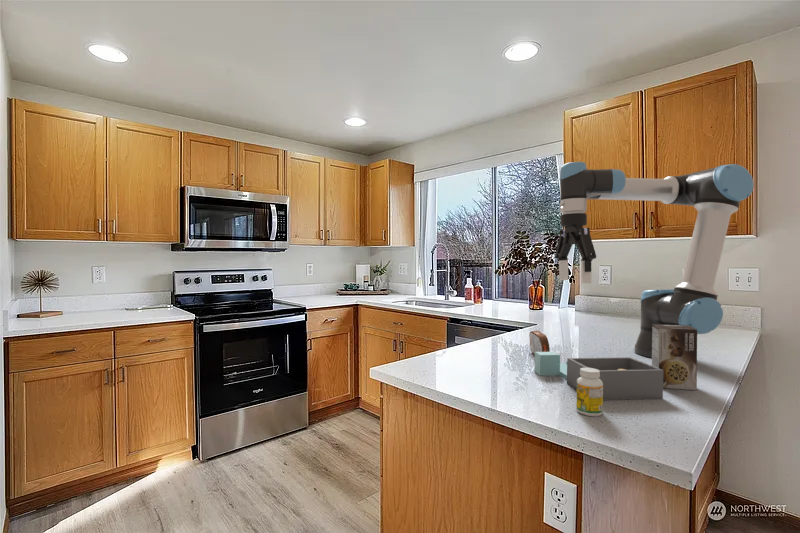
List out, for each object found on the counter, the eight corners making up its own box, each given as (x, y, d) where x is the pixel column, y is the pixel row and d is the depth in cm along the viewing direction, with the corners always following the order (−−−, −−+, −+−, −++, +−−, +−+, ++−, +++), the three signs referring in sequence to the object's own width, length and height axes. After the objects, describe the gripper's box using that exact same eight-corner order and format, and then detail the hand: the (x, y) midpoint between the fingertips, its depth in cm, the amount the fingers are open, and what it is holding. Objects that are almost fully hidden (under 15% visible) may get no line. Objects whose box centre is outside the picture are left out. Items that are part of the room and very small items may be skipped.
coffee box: (687, 383, 116) (689, 325, 115) (697, 391, 109) (698, 329, 109) (650, 380, 118) (651, 323, 118) (657, 387, 112) (659, 327, 111)
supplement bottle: (607, 417, 91) (607, 373, 91) (582, 417, 91) (583, 373, 91) (595, 408, 97) (596, 366, 96) (572, 407, 97) (573, 366, 96)
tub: (629, 382, 116) (630, 357, 116) (662, 398, 103) (663, 370, 103) (566, 383, 115) (567, 358, 115) (592, 400, 102) (593, 371, 102)
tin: (550, 362, 138) (550, 336, 138) (540, 362, 138) (541, 336, 138) (536, 351, 153) (536, 328, 153) (527, 351, 153) (528, 328, 153)
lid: (604, 366, 133) (604, 347, 133) (631, 379, 120) (632, 358, 120) (528, 367, 131) (528, 348, 131) (547, 380, 118) (547, 359, 117)
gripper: (544, 217, 143) (545, 279, 144) (583, 209, 118) (584, 284, 119) (565, 216, 144) (566, 278, 145) (608, 208, 119) (609, 283, 120)
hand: (574, 281), depth 132 cm, fingers open, 13 cm apart
